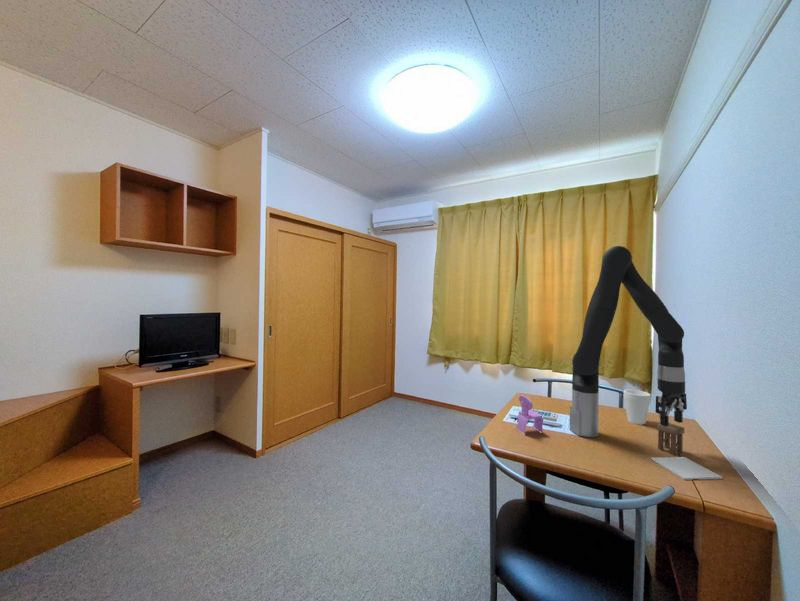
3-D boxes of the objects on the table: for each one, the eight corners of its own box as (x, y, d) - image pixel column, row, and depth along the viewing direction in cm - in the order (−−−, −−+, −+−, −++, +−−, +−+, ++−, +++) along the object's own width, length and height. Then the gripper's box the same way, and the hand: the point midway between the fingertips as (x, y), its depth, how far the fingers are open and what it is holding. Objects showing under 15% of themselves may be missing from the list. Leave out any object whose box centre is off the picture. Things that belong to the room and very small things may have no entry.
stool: (674, 456, 109) (675, 430, 109) (656, 448, 114) (656, 424, 114) (684, 453, 111) (684, 427, 111) (665, 446, 117) (665, 421, 116)
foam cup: (655, 426, 135) (656, 395, 135) (635, 426, 134) (635, 396, 134) (637, 417, 144) (637, 389, 144) (618, 418, 144) (618, 389, 144)
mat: (684, 479, 95) (684, 477, 95) (650, 459, 107) (650, 457, 107) (722, 478, 95) (722, 476, 95) (684, 458, 107) (684, 456, 107)
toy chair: (545, 434, 126) (545, 397, 126) (526, 437, 124) (526, 399, 124) (532, 426, 134) (532, 391, 134) (513, 428, 132) (514, 392, 132)
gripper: (671, 383, 106) (672, 431, 106) (695, 378, 112) (695, 424, 112) (647, 378, 113) (647, 423, 113) (670, 374, 119) (670, 417, 119)
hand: (671, 423), depth 113 cm, fingers open, 8 cm apart
